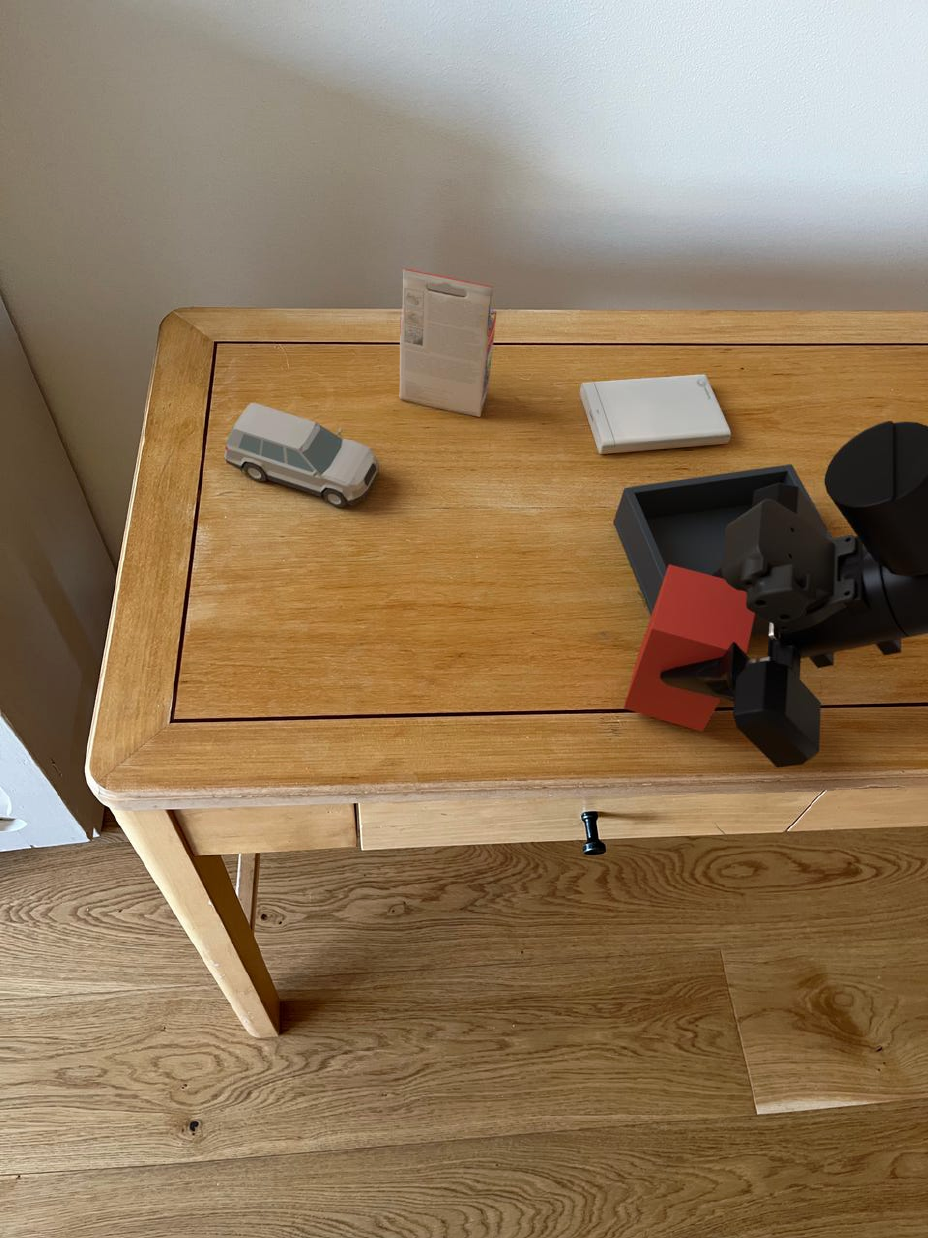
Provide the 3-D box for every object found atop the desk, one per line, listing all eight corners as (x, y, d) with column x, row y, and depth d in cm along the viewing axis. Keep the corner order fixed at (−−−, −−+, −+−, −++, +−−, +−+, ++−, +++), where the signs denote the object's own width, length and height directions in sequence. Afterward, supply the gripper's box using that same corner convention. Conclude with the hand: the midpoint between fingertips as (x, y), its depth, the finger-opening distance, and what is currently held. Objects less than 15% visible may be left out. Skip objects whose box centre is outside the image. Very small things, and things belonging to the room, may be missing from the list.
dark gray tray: (773, 498, 84) (791, 463, 80) (838, 621, 77) (862, 589, 73) (612, 522, 81) (623, 487, 77) (665, 651, 74) (680, 620, 70)
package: (715, 673, 71) (760, 588, 60) (702, 731, 69) (746, 655, 57) (638, 651, 72) (669, 564, 61) (623, 708, 70) (651, 628, 58)
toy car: (359, 518, 79) (358, 479, 75) (223, 473, 81) (214, 433, 77) (385, 471, 82) (385, 431, 78) (254, 429, 84) (246, 388, 80)
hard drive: (705, 372, 90) (581, 380, 88) (732, 433, 86) (603, 443, 84) (700, 384, 91) (578, 393, 89) (727, 446, 87) (599, 456, 85)
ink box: (408, 375, 89) (411, 241, 77) (488, 393, 89) (504, 261, 76) (397, 402, 87) (399, 268, 75) (480, 420, 87) (495, 289, 74)
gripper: (843, 389, 55) (623, 473, 65) (837, 647, 45) (578, 700, 55) (915, 504, 61) (703, 565, 71) (924, 755, 51) (675, 784, 61)
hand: (668, 643), depth 65 cm, fingers closed on package, 5 cm apart
